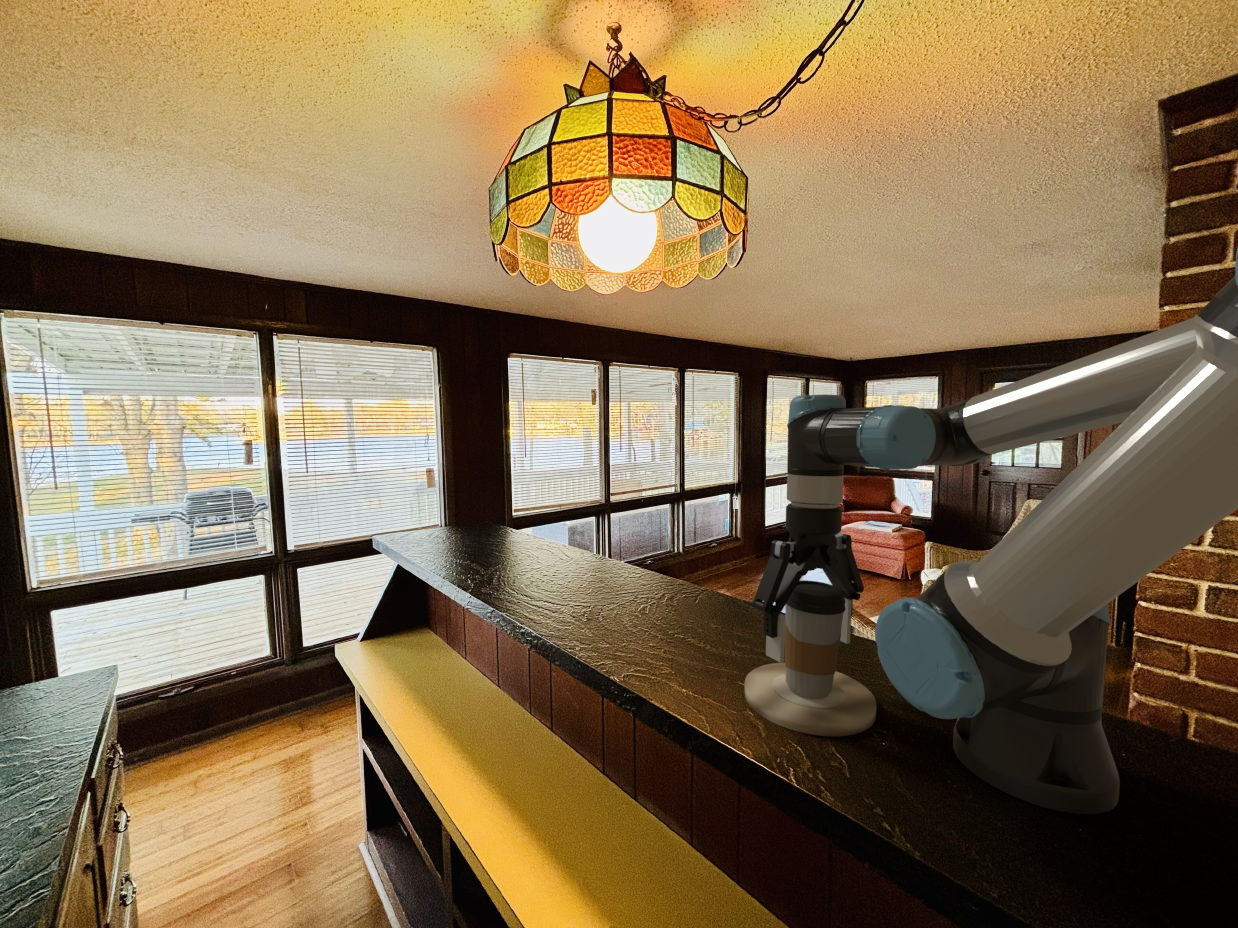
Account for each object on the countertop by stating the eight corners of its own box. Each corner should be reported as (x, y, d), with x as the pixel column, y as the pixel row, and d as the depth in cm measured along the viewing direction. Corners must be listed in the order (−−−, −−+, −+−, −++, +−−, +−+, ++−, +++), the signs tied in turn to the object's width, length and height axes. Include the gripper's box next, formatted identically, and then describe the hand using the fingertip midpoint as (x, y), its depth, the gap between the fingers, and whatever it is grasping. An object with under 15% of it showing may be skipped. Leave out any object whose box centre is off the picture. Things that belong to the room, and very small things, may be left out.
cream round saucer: (904, 714, 72) (904, 702, 72) (813, 751, 64) (814, 738, 63) (803, 662, 88) (803, 653, 88) (719, 687, 79) (719, 676, 79)
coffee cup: (844, 707, 71) (853, 601, 69) (781, 699, 72) (788, 595, 71) (832, 677, 79) (839, 582, 77) (775, 670, 80) (781, 577, 79)
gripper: (849, 496, 83) (844, 625, 84) (728, 506, 71) (725, 655, 73) (893, 502, 76) (887, 641, 78) (767, 514, 65) (763, 678, 66)
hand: (809, 648), depth 75 cm, fingers open, 13 cm apart
